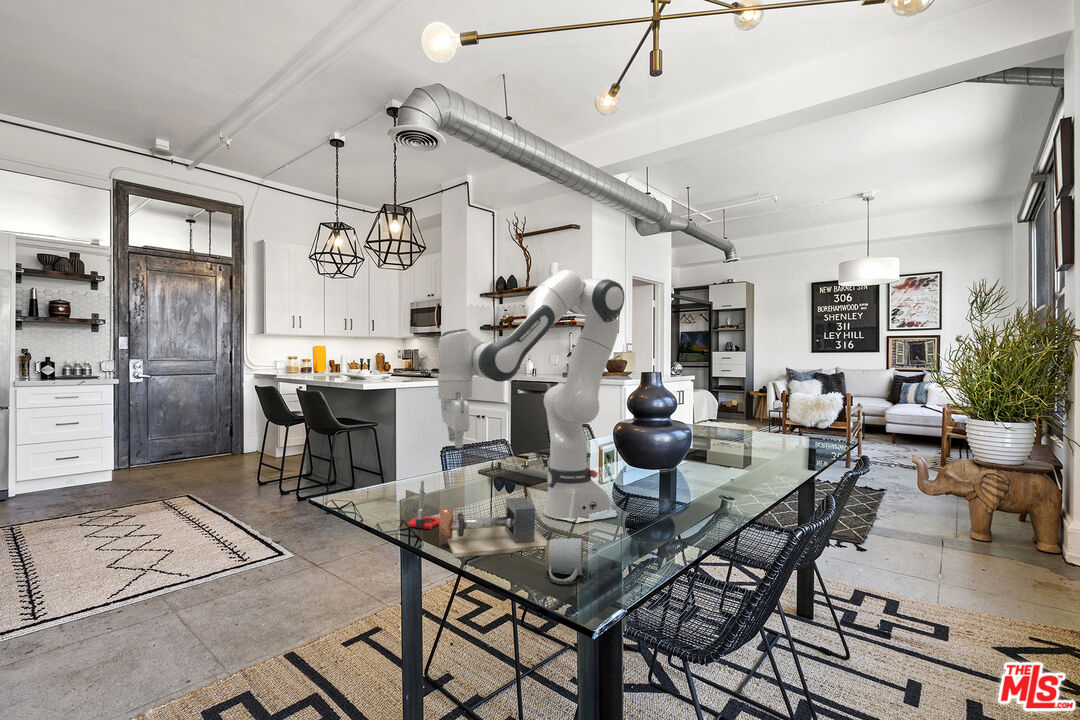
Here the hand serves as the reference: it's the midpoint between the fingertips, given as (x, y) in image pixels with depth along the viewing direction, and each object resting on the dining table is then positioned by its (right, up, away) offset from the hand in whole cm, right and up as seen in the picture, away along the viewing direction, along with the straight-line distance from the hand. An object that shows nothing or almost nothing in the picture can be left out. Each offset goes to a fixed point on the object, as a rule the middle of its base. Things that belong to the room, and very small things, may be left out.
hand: (455, 444), depth 138 cm
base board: (+11, -24, -3) cm, 27 cm away
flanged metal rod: (+6, -22, -5) cm, 23 cm away
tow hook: (-10, -24, +9) cm, 27 cm away
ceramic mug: (+28, -25, -23) cm, 44 cm away
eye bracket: (+17, -25, -1) cm, 30 cm away
